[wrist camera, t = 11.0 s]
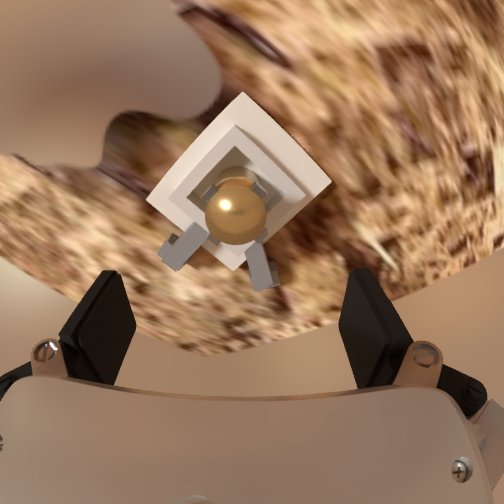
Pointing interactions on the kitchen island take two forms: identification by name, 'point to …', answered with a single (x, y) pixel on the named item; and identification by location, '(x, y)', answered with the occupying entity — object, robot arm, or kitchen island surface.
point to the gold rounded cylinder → (236, 208)
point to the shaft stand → (228, 155)
